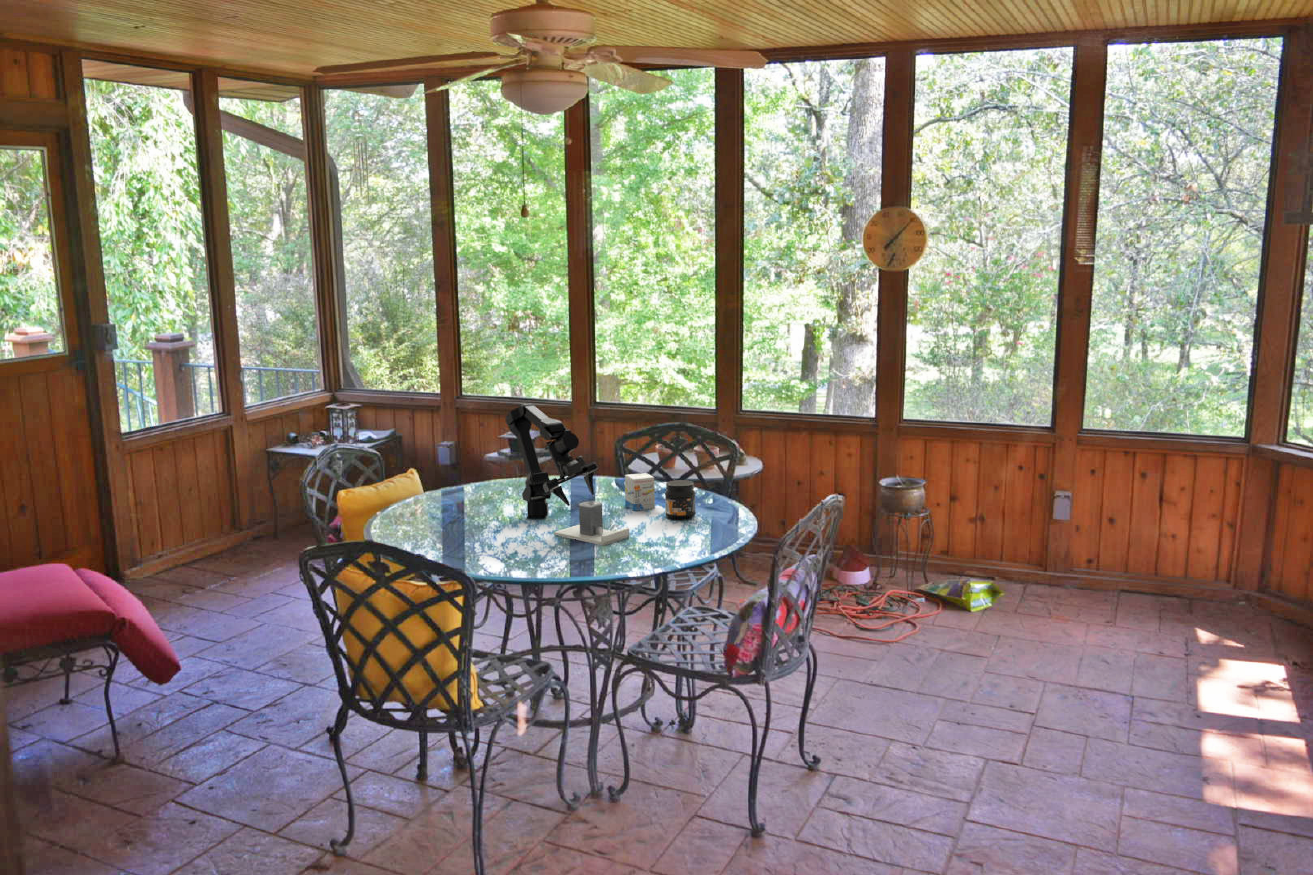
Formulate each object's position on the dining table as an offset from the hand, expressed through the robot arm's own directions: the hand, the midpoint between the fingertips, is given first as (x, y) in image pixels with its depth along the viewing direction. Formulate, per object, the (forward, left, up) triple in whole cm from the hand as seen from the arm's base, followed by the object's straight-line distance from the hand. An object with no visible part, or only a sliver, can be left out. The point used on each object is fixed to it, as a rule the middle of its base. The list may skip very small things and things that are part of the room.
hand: (581, 500), depth 354 cm
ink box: (+17, +30, -10) cm, 36 cm away
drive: (+4, -9, -9) cm, 13 cm away
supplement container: (+32, +16, -10) cm, 37 cm away
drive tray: (+4, -9, -10) cm, 14 cm away
